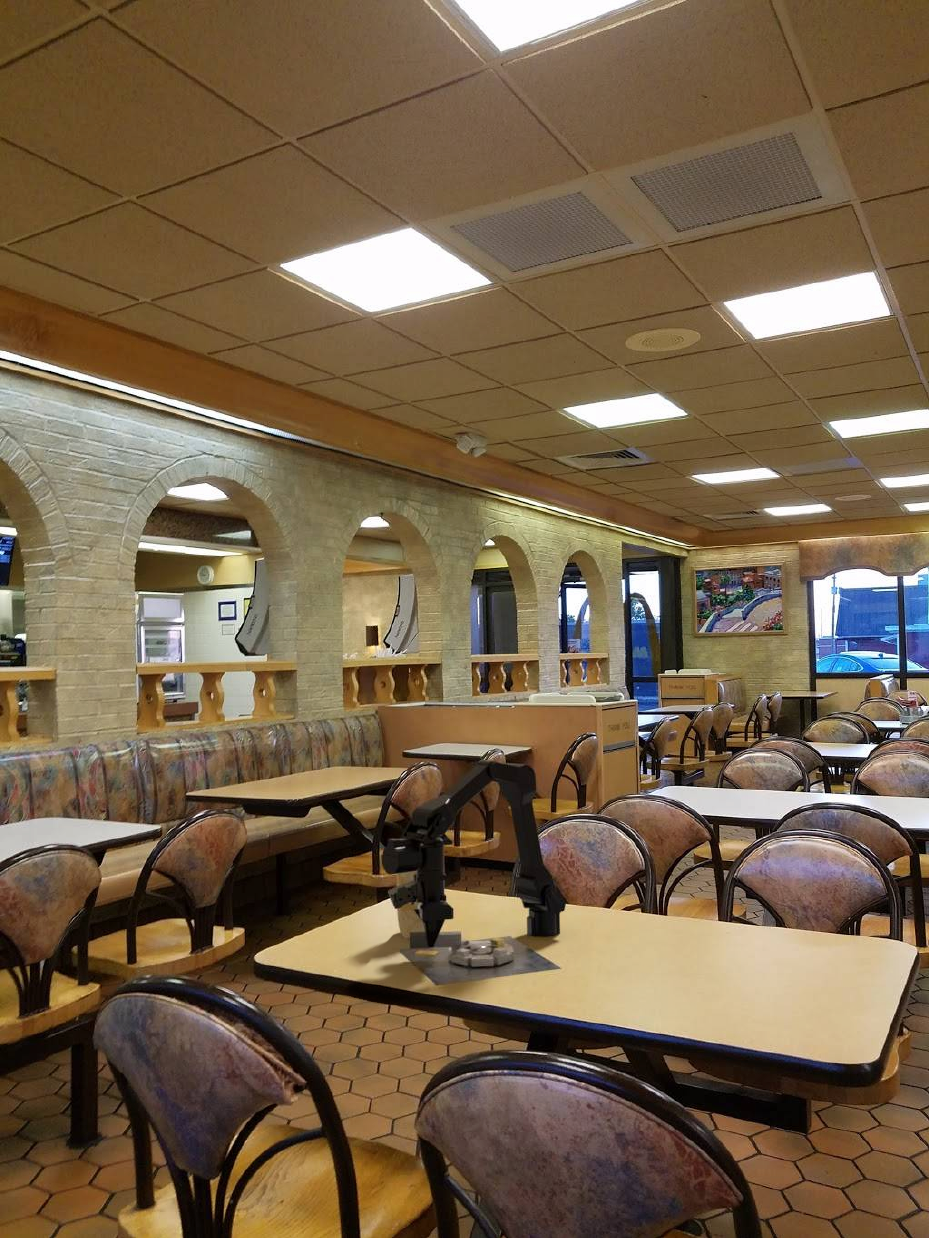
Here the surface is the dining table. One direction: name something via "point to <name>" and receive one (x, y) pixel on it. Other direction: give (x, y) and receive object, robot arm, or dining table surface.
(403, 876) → the food model
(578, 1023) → the dining table surface
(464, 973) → the cap plate
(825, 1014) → the dining table surface
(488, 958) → the grey ring frame
